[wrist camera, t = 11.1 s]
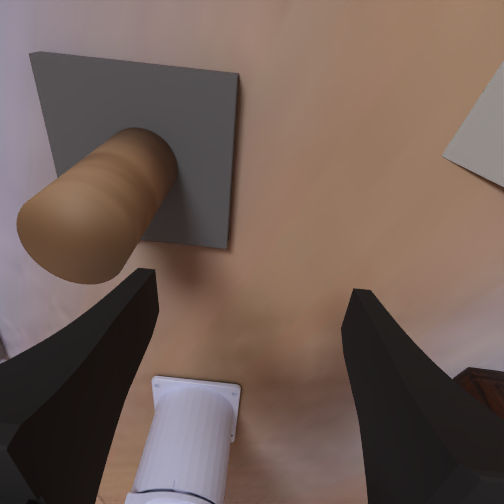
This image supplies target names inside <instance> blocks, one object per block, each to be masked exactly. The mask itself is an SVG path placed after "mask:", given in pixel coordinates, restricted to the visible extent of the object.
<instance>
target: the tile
mask: <svg viewBox="0 0 504 504" xmlns="http://www.w3.org/2000/svg"><path fill="white" fill-rule="evenodd" d="M5 354H6V352H5V350H4V347H3V345H2V342H1V339H0V361H1V359H2V358H3V357H4V356H5Z"/></svg>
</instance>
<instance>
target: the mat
mask: <svg viewBox="0 0 504 504" xmlns="http://www.w3.org/2000/svg"><path fill="white" fill-rule="evenodd" d="M29 57H30V61H31V65H32V70H33V74H34V78H35V82H36V87H37V91H38V95H39V100H40V104H41V108H42V112H43V117H44V121H45V125H46V130H47V134H48V138H49V143H50V147H51V151H52V155H53V160H54V164H55V168H56V173H57V177H60V176H61V175H62V174H64V173H65V172H66V171H68V170H69V169H70V168H71V167H73V166H74V165H75V164H77V163H78V162H79V161H81V160H82V159H83V158H84V157H86V156H87V155H88V154H90V153H91V152H92V151H94V150H95V149H96V148H98V147H99V146H100V145H101V144H103V143H104V142H105V141H107V140H108V139H109V138H111V137H112V136H113V135H114V134H116V133H117V132H119V131H121V130H123V129H126V128H132V127H137V128H144V129H147V130H150V131H152V132H154V133H156V134H157V135H159V136H160V137H161V138H163V139H164V140H165V141H166V142H167V143H168V145H169V146H170V147H171V149H172V151H173V153H174V155H175V157H176V160H177V166H178V172H177V178H176V180H175V182H174V184H173V186H172V188H171V189H170V191H169V193H168V194H167V196H166V198H165V199H164V201H163V202H162V204H161V206H160V207H159V209H158V211H157V212H156V214H155V216H154V217H153V219H152V221H151V222H150V224H149V226H148V227H147V229H146V231H145V232H144V234H143V236H142V237H141V239H140V240H149V241H158V242H167V243H176V244H185V245H194V246H204V247H213V248H222V249H227V244H228V237H229V222H230V206H231V190H232V175H233V159H234V144H235V128H236V113H237V97H238V81H239V73H230V72H221V71H212V70H203V69H194V68H185V67H176V66H167V65H158V64H149V63H140V62H131V61H122V60H113V59H104V58H95V57H86V56H77V55H68V54H59V53H50V52H41V51H40V52H34V53H29Z"/></svg>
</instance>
